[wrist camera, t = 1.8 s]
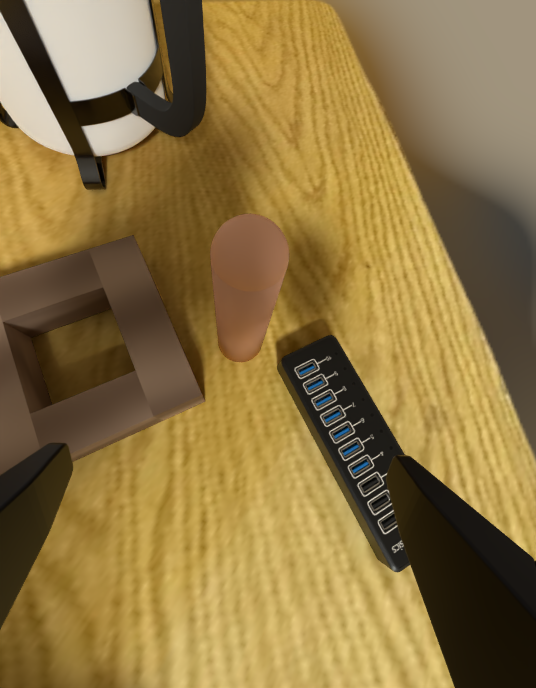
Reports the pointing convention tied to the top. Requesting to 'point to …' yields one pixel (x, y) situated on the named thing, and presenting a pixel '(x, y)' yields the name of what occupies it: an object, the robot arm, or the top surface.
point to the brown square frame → (104, 400)
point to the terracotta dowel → (246, 282)
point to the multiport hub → (348, 439)
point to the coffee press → (100, 74)
